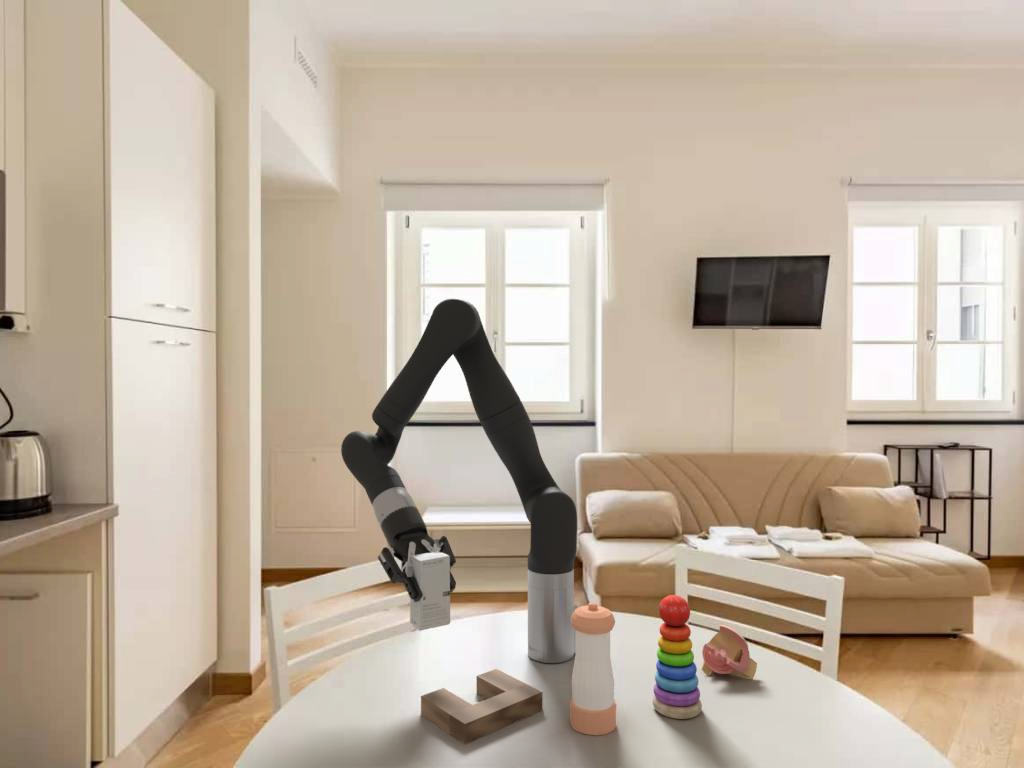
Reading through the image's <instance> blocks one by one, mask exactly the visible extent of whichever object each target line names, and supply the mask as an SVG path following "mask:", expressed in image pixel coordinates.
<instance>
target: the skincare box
mask: <svg viewBox="0 0 1024 768" xmlns="http://www.w3.org/2000/svg"><path fill="white" fill-rule="evenodd" d="M410 557H411V560H412V562H413V575H412V577H415V579H416V581H417V583H418V585H419V587H420V589H421V591H422V594H423V596H422V598H421V599H420V600H419V601H418V602H414V600H413V599H411V598H410V597H409V602H410V604H409V605H410V616H409V617H410V620H409V621H410V624H411V625H412V626H413V627H414V628H415V629H417V630H418V631H424V630H429V629H435V628H439V627H444V626H447V625H448V626H449V625H451V593H450V571H451V570H450V556H449V555H447V554H444V553H442V552H432V553H424V554H419V555H412V556H410Z"/></svg>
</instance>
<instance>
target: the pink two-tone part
mask: <svg viewBox="0 0 1024 768" xmlns="http://www.w3.org/2000/svg"><path fill="white" fill-rule="evenodd" d="M702 657H703V658H702V659H703V661H702V667H701V671H702V672H703V673H704V674H705V675H706V676H707V677H709V676H710V674H711V673H712V672H714V673H717V674H719V675H725V674H731V675H734V676H737V677H740V678H744V679H749V680H752V681H753V679H754V677H755V675H756V672H757V668H758V663H757V661H755V660H754V658H751V655H750V651H749V645H748V642H747V640H746V639H745V638H744V637H743V635H742V634H741V633H740V632H738V631H737V630H736V629H734V628H732V627H730V626H728V625H726V624H720V625H719V631H717V633H715V634H714V636H713V637H712V638H711V639H710V641H709V642H707V643H704V645H703V648H702Z"/></svg>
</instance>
